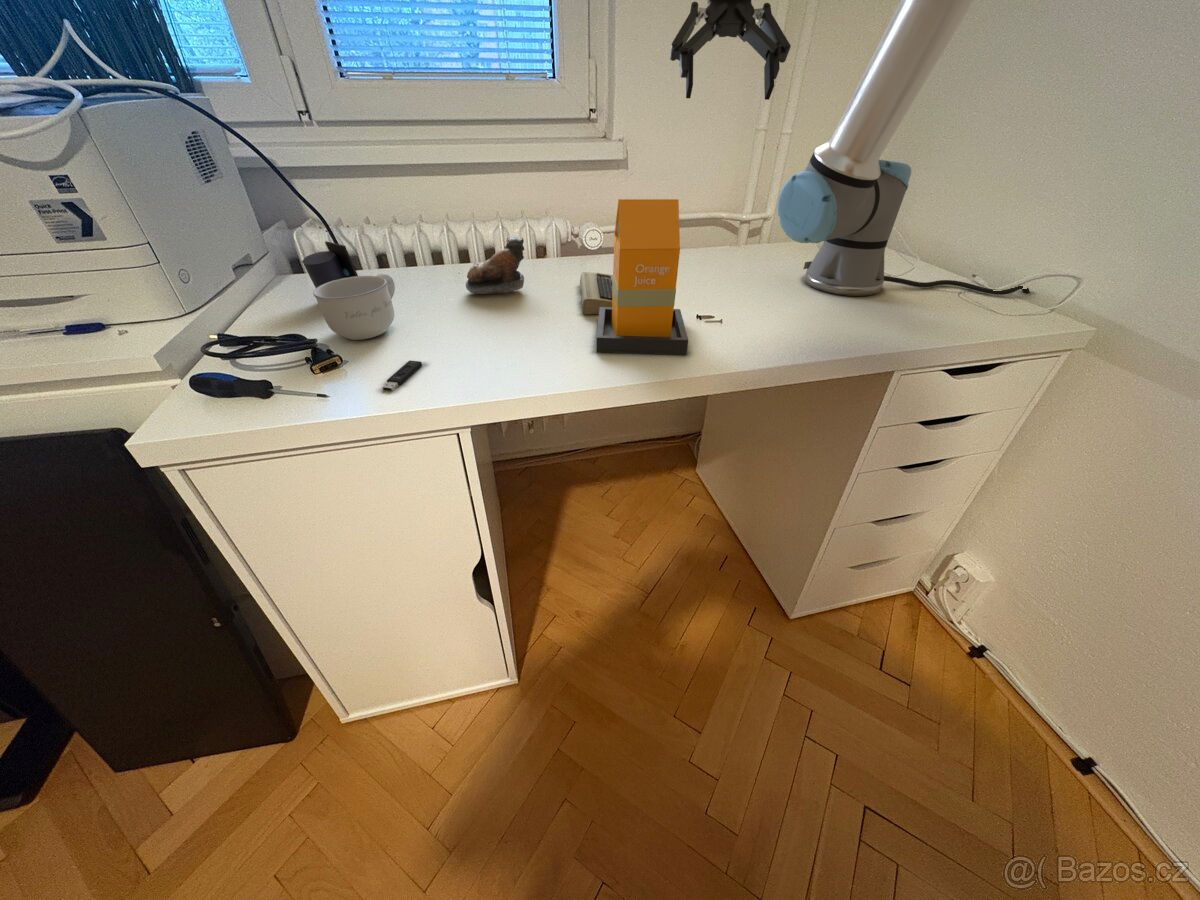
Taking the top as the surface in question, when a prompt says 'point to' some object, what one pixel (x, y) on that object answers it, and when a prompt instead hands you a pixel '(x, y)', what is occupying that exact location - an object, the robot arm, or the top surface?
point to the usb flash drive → (402, 375)
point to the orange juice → (645, 267)
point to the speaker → (329, 265)
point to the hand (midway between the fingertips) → (729, 92)
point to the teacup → (357, 305)
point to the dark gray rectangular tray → (640, 338)
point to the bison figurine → (498, 271)
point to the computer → (595, 291)
